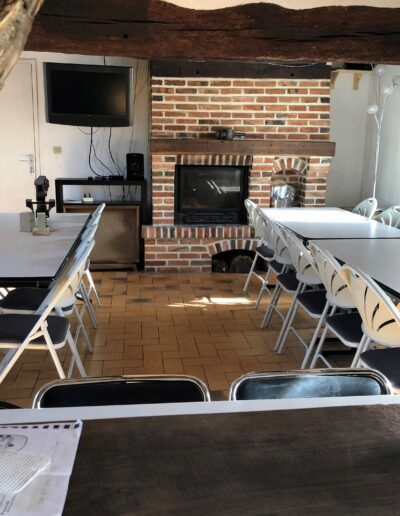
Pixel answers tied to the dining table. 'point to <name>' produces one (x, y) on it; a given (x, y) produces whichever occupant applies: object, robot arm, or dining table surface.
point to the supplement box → (27, 221)
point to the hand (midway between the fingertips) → (41, 213)
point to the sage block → (41, 220)
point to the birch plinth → (41, 232)
